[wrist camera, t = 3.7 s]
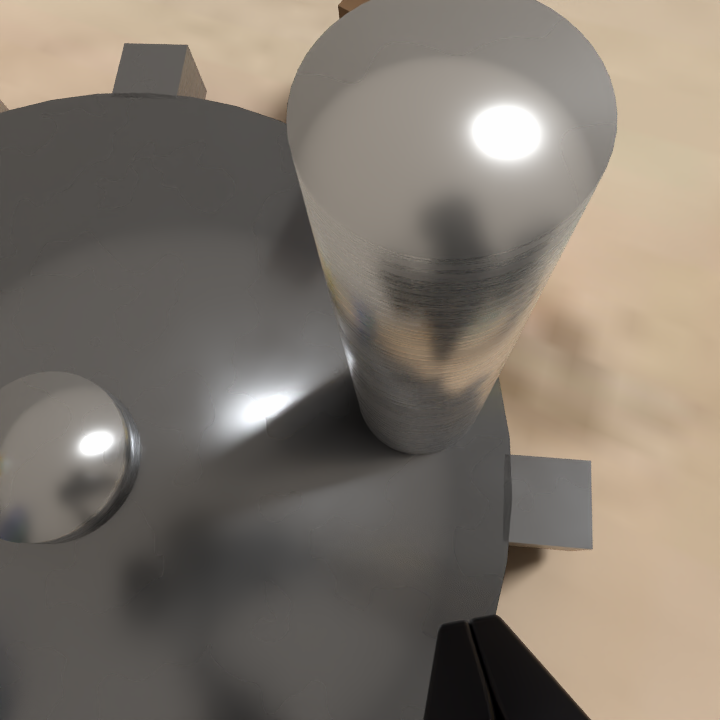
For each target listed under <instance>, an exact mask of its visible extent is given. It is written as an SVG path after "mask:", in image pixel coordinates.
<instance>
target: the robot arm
mask: <svg viewBox="0 0 720 720" xmlns="http://www.w3.org/2000/svg"><path fill="white" fill-rule="evenodd" d="M423 720H591V719H590V718H589V717H588V716H587V715H586V714H585V712H584V711H583V710H582V709H581V708H580V707H579V706H578V705H577V703H576V702H575V701H574V700H573V699H572V698H571V697H570V695H569V694H568V693H567V692H566V691H565V690H564V689H563V688H562V686H561V685H560V684H559V683H558V682H557V681H556V680H555V678H554V677H553V676H552V675H551V674H550V673H549V672H548V670H547V669H546V668H545V667H544V666H543V665H542V664H541V663H540V661H539V660H538V659H537V658H536V657H535V656H534V655H533V653H532V652H531V651H530V650H529V649H528V648H527V647H526V646H525V644H524V643H523V642H522V641H521V640H520V639H519V638H518V636H517V635H516V634H515V633H514V632H513V631H512V630H511V629H510V627H509V626H508V625H507V624H506V623H505V622H504V621H503V620H502V619H501V618H500V617H499V616H498V615H494V614H492V615H487V616H481V617H476V618H472V619H471V620H470V622H469V623H468V622H467V621H465V620H459V621H454V622H448V623H443V624H441V625H440V627H439V629H438V634H437V640H436V646H435V652H434V658H433V664H432V670H431V676H430V682H429V688H428V694H427V700H426V706H425V712H424V718H423Z"/></svg>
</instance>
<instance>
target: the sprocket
mask: <svg viewBox="0 0 720 720" xmlns="http://www.w3.org/2000/svg"><path fill="white" fill-rule="evenodd" d="M206 92H207V91H206V88H205V86H204V83H203V81H202V79H201V76H200V74H199V71H198V69H197V66H196V64H195V62H194V59H193V57H192V54H191V52H190V49H189V47H188V45H170V44H129V43H125V44H124V48H123V52H122V56H121V60H120V64H119V68H118V72H117V76H116V80H115V84H114V89H113V93H112V94H93V95H86V96H79V97H71V98H64V99H56V100H50V101H46V102H42V103H38V104H33V105H29V106H25V107H21V108H17V109H13V110H9V109H8V108H7V107H6V106H5V105H4V104H3V102H2V101H1V100H0V720H423V718H424V712H425V706H426V700H427V694H428V688H429V682H430V676H431V670H432V664H433V658H434V652H435V646H436V640H437V634H438V629H439V627H440V625H441V624H443V623H448V622H454V621H459V620H465V621H467V622H468V623H469V622H470V620H471V619H472V618H476V617H481V616H487V615H492V614H494V615H496V610H497V606H498V601H499V596H500V592H501V587H502V583H503V578H504V573H505V569H506V564H507V556H508V545H509V546H520V547H532V548H543V549H554V550H565V551H577V550H591V549H593V548H592V494H591V461H585V460H572V459H559V458H546V457H533V456H521V455H510V438H509V432H508V426H507V421H506V415H505V410H504V404H503V399H502V393H501V388H500V382H499V378H498V376H499V374H500V372H501V370H502V368H503V366H504V364H505V362H506V360H507V358H508V357H509V355H510V353H511V351H512V349H513V347H514V345H515V343H516V341H517V339H518V337H519V335H520V333H521V331H522V330H523V328H524V326H525V324H526V322H527V320H528V318H529V316H530V314H531V312H532V310H533V308H534V306H535V304H536V303H537V301H538V299H539V297H540V295H541V293H542V291H543V289H544V287H545V285H546V283H547V281H548V279H549V277H550V276H551V274H552V272H553V270H554V268H555V266H556V264H557V262H558V260H559V258H560V256H561V254H562V252H563V250H564V249H565V247H566V245H567V243H568V241H569V239H570V237H571V235H572V233H573V231H574V229H575V227H576V225H577V223H578V222H579V220H580V218H581V216H582V214H583V212H584V210H585V208H586V206H587V204H588V202H589V200H590V198H591V196H592V195H593V193H594V191H595V189H596V187H597V185H598V183H599V181H600V179H601V177H602V175H603V173H604V171H605V169H606V167H607V164H608V162H609V159H610V157H611V154H612V151H613V147H614V142H615V137H616V132H617V107H616V99H615V94H614V90H613V86H612V83H611V79H610V77H609V75H608V72H607V70H606V68H605V66H604V63H603V61H602V60H601V58H600V57H599V55H598V54H597V52H596V51H595V49H594V47H593V46H592V45H591V44H590V42H589V41H588V40H587V39H586V38H585V37H584V35H583V34H582V33H581V32H580V31H579V30H578V29H577V28H576V27H574V26H573V25H572V24H571V23H570V22H569V21H568V20H567V19H565V18H564V17H562V16H561V15H560V14H558V13H557V12H555V11H554V10H552V9H551V8H549V7H547V6H545V5H544V4H542V3H540V2H538V1H536V0H370V1H368V2H366V3H364V4H361V5H360V6H358V7H357V8H355V9H353V10H352V11H350V12H349V13H347V14H345V15H344V16H343V17H342V18H340V19H339V20H338V21H337V22H335V23H334V24H333V25H332V26H330V27H329V28H328V29H327V30H326V31H325V32H324V33H323V35H322V36H321V37H320V38H319V39H318V40H317V41H316V42H315V44H314V45H313V46H312V48H311V49H310V50H309V52H308V53H307V54H306V56H305V58H304V60H303V61H302V63H301V65H300V67H299V69H298V71H297V73H296V76H295V78H294V81H293V83H292V86H291V90H290V95H289V99H288V104H287V118H286V123H287V124H285V123H283V122H281V121H279V120H276V119H273V118H270V117H267V116H264V115H261V114H258V113H255V112H252V111H249V110H246V109H243V108H240V107H237V106H233V105H228V104H224V103H219V102H214V101H209V100H205V97H206Z"/></svg>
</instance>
